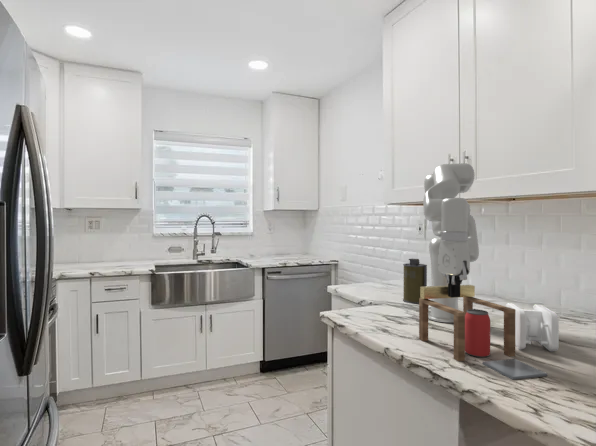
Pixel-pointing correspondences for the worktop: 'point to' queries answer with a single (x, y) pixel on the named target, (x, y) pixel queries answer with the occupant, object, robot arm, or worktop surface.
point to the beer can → (477, 333)
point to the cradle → (460, 324)
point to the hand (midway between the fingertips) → (454, 296)
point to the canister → (414, 280)
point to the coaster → (514, 369)
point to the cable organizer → (536, 327)
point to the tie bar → (445, 292)
